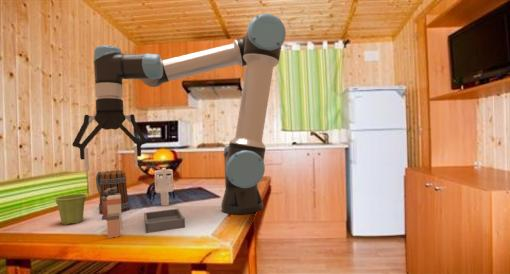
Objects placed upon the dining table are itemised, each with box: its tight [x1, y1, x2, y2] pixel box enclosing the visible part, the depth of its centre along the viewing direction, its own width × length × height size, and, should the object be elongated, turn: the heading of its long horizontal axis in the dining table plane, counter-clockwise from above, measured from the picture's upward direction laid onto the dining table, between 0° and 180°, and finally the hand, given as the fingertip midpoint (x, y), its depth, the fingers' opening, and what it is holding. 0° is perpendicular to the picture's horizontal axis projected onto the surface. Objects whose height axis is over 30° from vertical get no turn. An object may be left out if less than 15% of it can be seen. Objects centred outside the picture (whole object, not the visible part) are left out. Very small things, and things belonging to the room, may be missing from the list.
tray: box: [143, 208, 186, 234], centre depth 97 cm, size 11×14×3 cm
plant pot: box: [54, 193, 88, 225], centre depth 103 cm, size 9×9×9 cm
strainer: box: [154, 167, 174, 207], centre depth 124 cm, size 7×7×15 cm
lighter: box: [101, 187, 120, 221], centre depth 109 cm, size 8×3×10 cm, turn 168°
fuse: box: [107, 194, 123, 230], centre depth 94 cm, size 4×4×10 cm
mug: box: [95, 169, 130, 215], centre depth 119 cm, size 16×11×15 cm
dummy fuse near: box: [105, 213, 121, 239], centre depth 87 cm, size 3×3×6 cm
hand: (112, 168), depth 93 cm, fingers open, 13 cm apart
